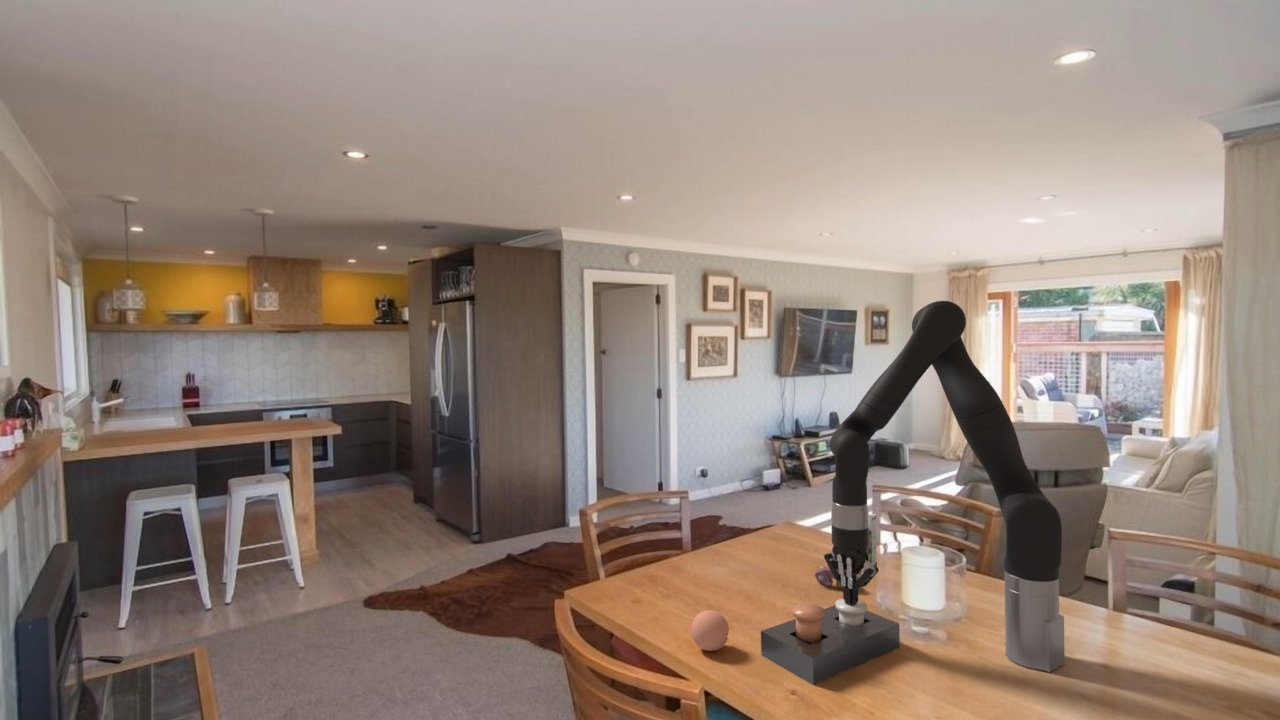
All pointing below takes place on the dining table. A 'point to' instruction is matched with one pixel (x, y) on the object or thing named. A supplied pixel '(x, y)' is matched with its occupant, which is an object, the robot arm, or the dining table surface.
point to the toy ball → (710, 630)
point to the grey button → (851, 612)
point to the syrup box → (872, 539)
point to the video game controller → (826, 577)
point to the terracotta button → (808, 621)
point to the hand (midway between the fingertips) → (850, 603)
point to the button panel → (830, 645)
